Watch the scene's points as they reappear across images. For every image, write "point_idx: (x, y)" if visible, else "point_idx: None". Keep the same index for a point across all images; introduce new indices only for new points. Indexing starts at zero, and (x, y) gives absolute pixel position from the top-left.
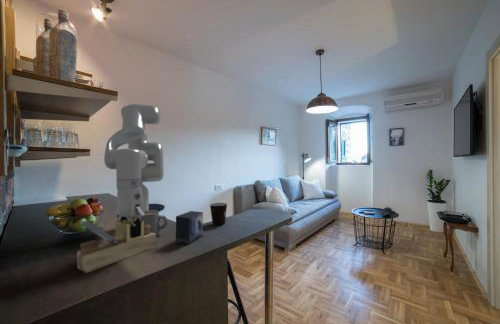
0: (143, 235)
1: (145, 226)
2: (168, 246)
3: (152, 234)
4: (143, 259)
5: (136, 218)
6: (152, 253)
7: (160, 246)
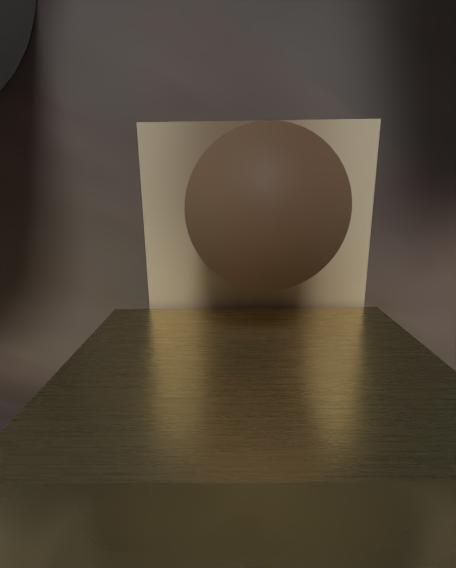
0: (384, 321)
1: (311, 247)
2: (432, 61)
3: (372, 174)
4: (451, 348)
5: (197, 491)
6: (423, 250)
7: (354, 108)
